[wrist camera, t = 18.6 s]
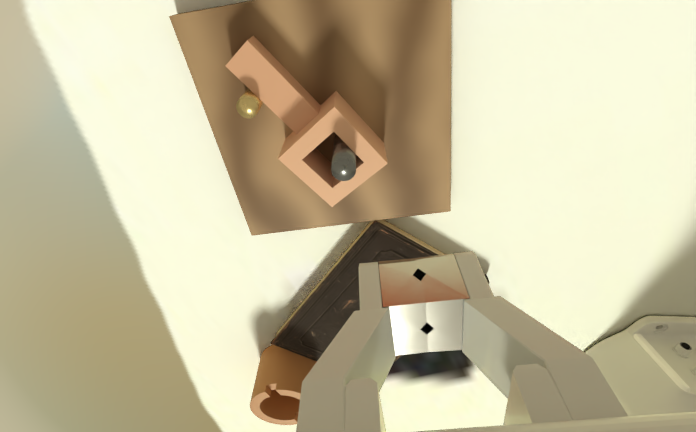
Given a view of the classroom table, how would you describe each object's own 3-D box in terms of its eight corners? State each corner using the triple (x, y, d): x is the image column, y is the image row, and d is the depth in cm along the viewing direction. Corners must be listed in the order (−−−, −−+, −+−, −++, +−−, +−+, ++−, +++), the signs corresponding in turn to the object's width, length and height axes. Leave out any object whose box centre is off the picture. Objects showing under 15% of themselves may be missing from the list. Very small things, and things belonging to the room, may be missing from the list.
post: (353, 126, 31) (354, 157, 26) (356, 146, 32) (357, 179, 27) (332, 129, 31) (329, 160, 26) (335, 148, 32) (333, 182, 27)
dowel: (262, 84, 29) (254, 95, 27) (268, 104, 30) (260, 116, 28) (243, 87, 29) (233, 98, 27) (249, 107, 30) (240, 119, 28)
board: (446, -35, 26) (451, -35, 25) (447, 202, 37) (450, 211, 36) (177, 13, 28) (169, 16, 27) (254, 226, 39) (251, 235, 38)
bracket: (249, 350, 51) (237, 399, 46) (301, 334, 49) (295, 383, 44) (311, 412, 60) (307, 459, 55) (357, 401, 58) (358, 448, 53)
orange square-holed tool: (268, 17, 27) (257, 25, 23) (383, 142, 32) (387, 163, 29) (218, 75, 29) (201, 90, 26) (333, 183, 34) (331, 207, 31)
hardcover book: (273, 329, 49) (270, 344, 47) (374, 208, 38) (375, 221, 36) (371, 368, 54) (372, 383, 52) (485, 271, 43) (491, 285, 41)
